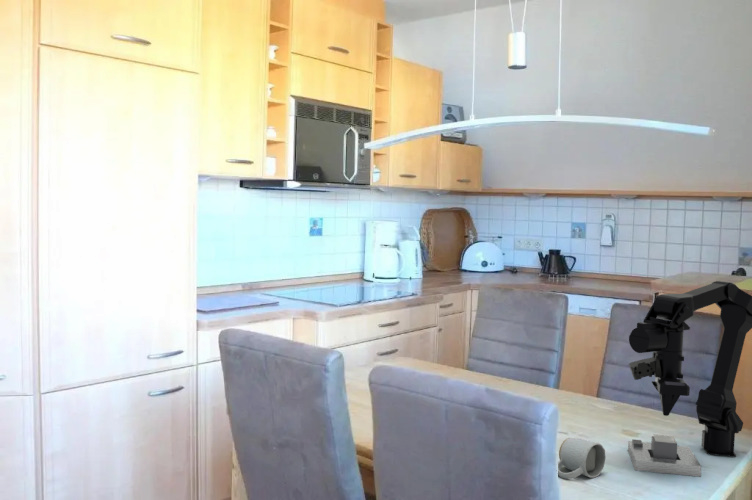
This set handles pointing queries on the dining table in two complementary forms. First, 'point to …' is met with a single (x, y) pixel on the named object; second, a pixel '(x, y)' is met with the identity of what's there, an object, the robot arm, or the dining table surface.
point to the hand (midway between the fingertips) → (665, 415)
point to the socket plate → (663, 460)
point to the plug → (663, 447)
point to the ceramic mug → (581, 458)
